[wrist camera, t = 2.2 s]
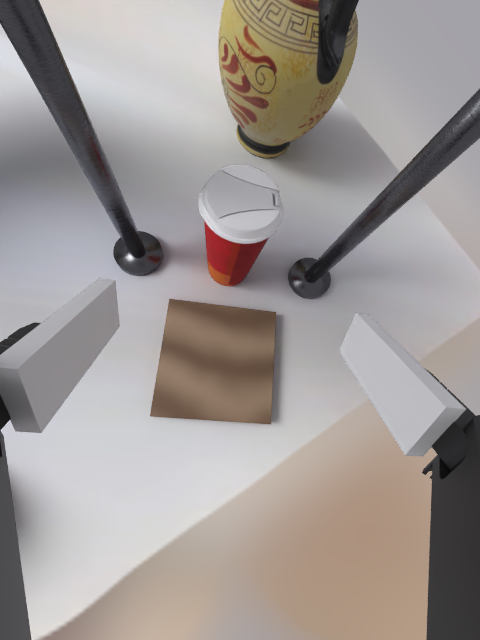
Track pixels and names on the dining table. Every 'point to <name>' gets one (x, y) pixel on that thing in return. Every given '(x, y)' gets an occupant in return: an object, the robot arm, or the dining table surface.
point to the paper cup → (238, 220)
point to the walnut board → (215, 364)
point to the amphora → (284, 66)
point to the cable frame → (134, 246)
